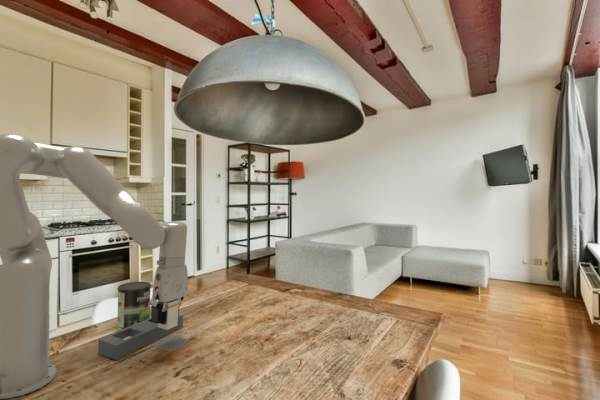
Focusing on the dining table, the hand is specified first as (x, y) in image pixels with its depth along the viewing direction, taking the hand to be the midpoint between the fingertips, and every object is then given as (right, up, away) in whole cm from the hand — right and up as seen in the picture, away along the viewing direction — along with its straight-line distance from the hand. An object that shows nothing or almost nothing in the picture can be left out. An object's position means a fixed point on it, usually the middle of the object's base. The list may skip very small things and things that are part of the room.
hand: (167, 320), depth 93 cm
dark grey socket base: (-9, -7, +3) cm, 12 cm away
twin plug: (-6, -5, +8) cm, 12 cm away
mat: (+1, -8, +1) cm, 8 cm away
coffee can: (-18, -7, +14) cm, 24 cm away
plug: (0, -2, 0) cm, 2 cm away
